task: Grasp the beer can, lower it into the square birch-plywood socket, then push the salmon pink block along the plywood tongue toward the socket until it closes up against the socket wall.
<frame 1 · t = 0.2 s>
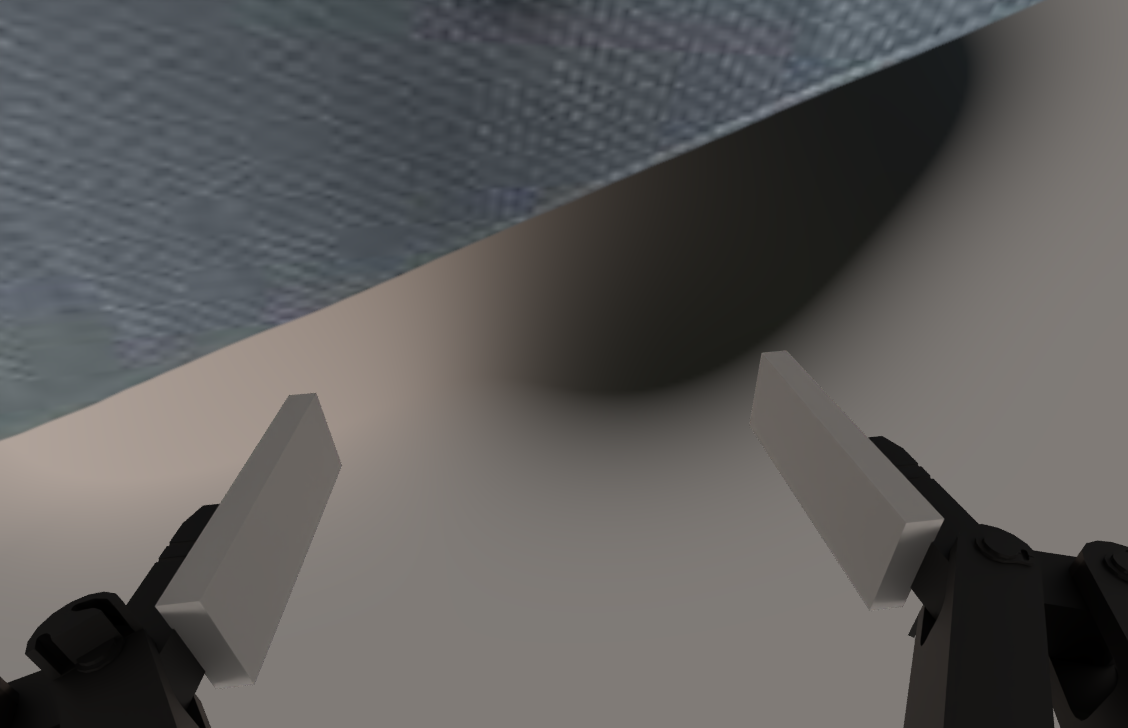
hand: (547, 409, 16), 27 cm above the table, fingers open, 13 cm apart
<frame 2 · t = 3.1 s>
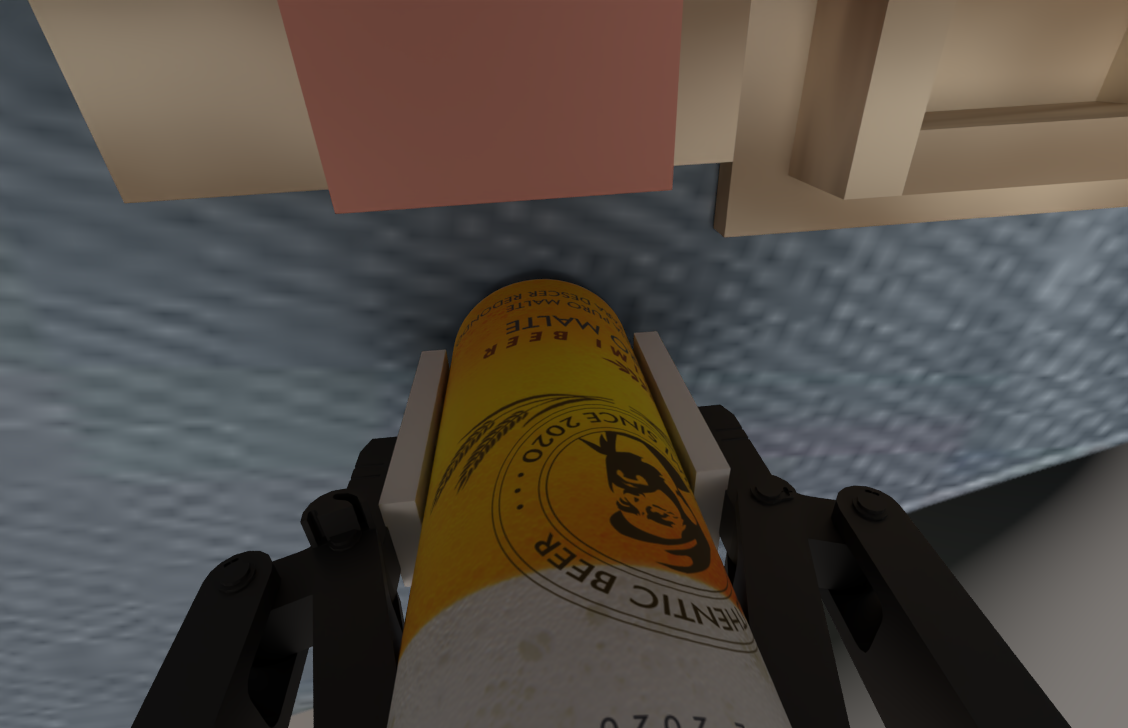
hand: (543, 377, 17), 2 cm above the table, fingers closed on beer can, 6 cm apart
beer can: (540, 346, 19), on the table, touching gripper
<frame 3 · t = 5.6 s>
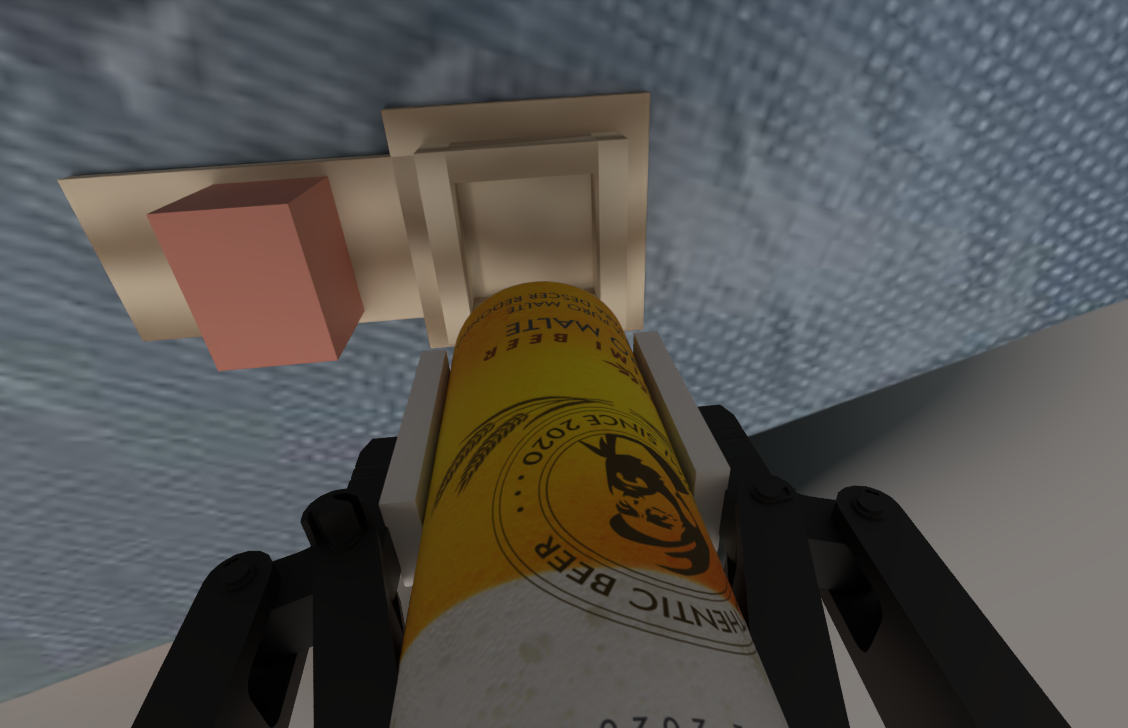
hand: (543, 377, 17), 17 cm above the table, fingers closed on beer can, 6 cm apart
salmon pink block: (274, 271, 27), point 4 cm above the table, slide at 0.0 cm
beer can: (540, 348, 19), point 15 cm above the table, touching gripper
dock: (528, 229, 32), on the table
when the fingers open (5 cm above the table, at t = 7.9 s): beer can drops 2 cm, resting on dock.
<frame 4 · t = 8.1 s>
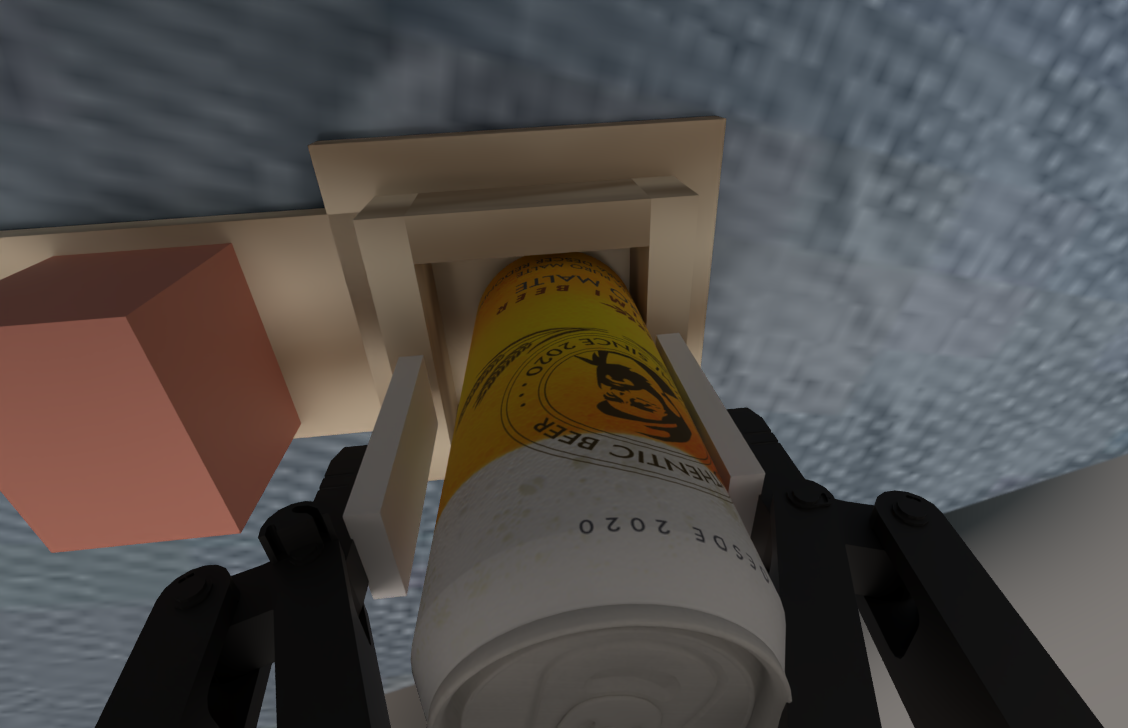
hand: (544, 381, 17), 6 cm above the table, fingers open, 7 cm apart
salmon pink block: (145, 392, 18), point 4 cm above the table, slide at 0.0 cm
beer can: (555, 316, 21), point 1 cm above the table, touching dock, gripper
dock: (535, 309, 22), on the table
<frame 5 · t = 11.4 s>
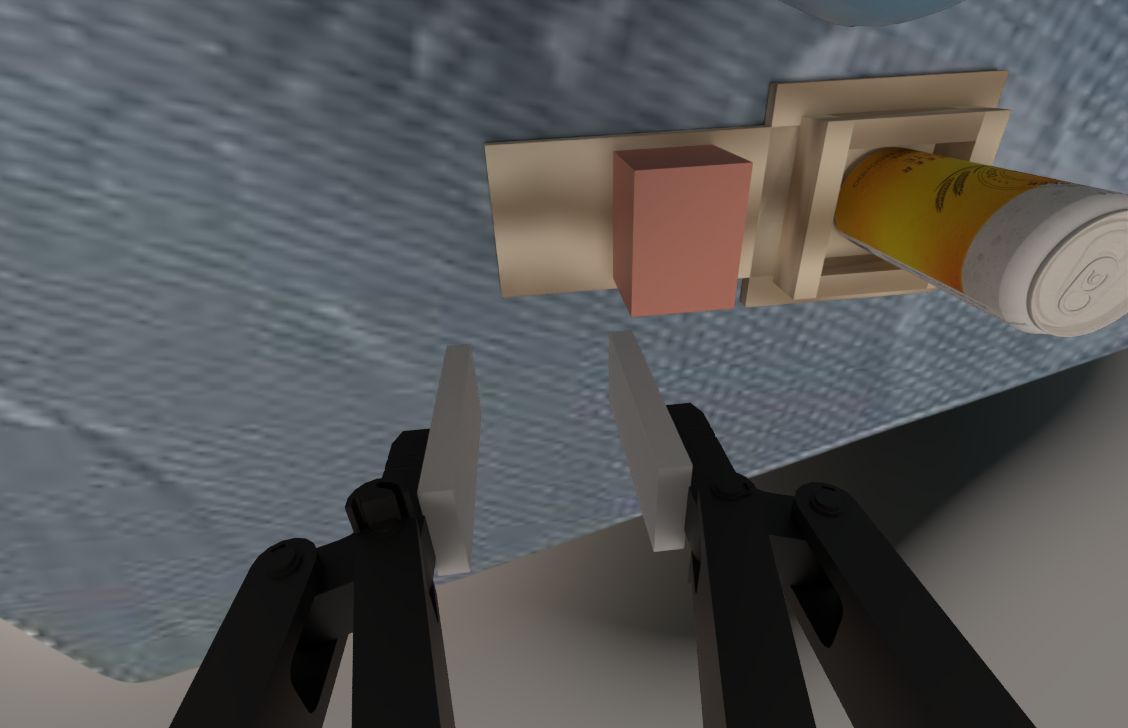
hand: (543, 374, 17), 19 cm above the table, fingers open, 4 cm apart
salmon pink block: (672, 228, 30), point 4 cm above the table, slide at 0.0 cm
beer can: (872, 195, 34), point 1 cm above the table, touching dock
dock: (855, 196, 35), on the table
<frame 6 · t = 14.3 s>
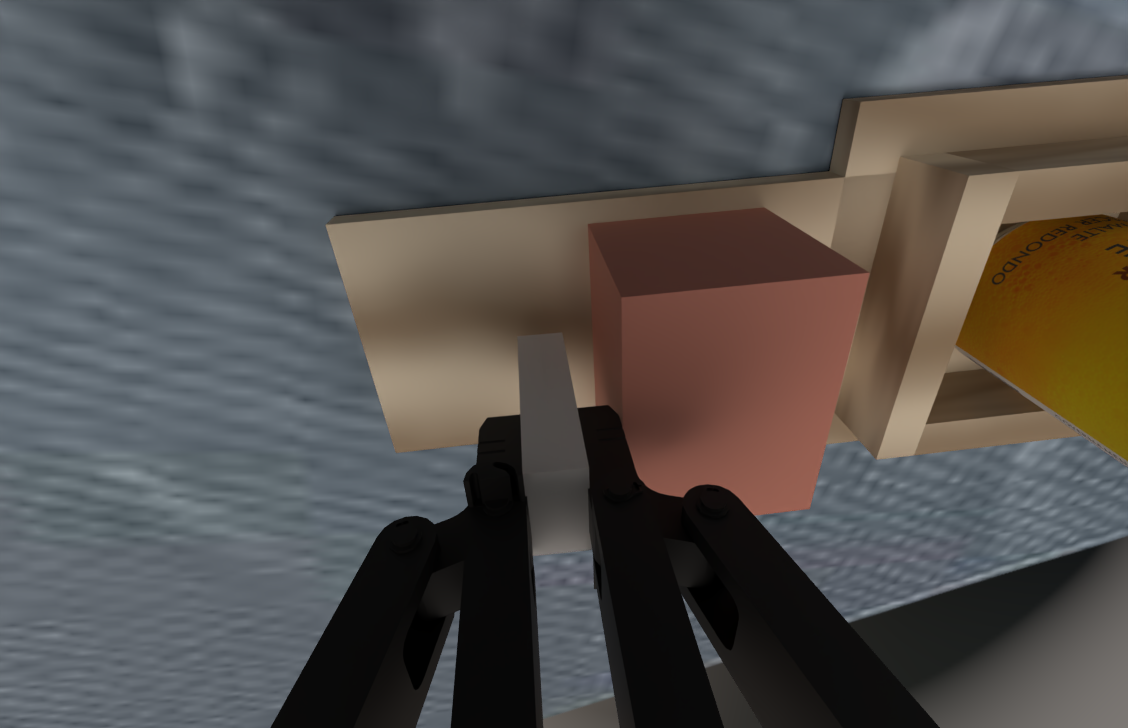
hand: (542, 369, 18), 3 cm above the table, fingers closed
salmon pink block: (696, 363, 17), point 4 cm above the table, slide at 0.9 cm, touching gripper
beer can: (1007, 280, 20), point 1 cm above the table, touching dock
dock: (975, 279, 21), on the table
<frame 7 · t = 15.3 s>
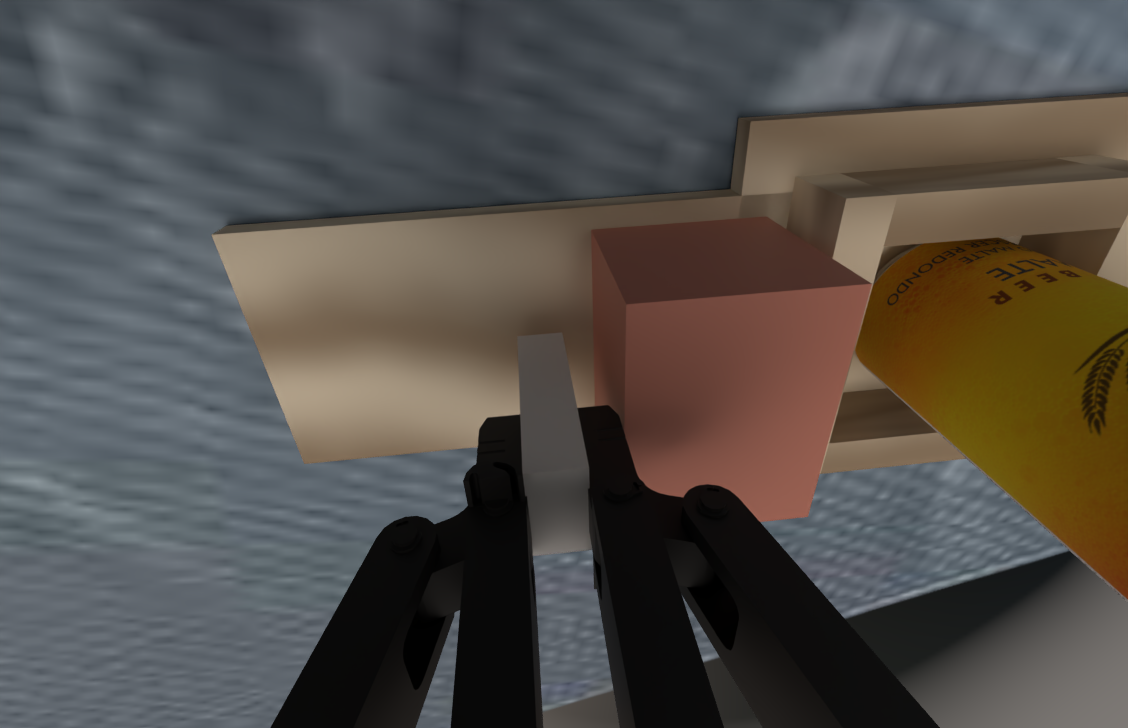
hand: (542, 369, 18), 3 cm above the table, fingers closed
salmon pink block: (697, 370, 17), point 4 cm above the table, slide at 4.5 cm, touching gripper
beer can: (915, 300, 20), point 1 cm above the table, touching dock
dock: (886, 298, 21), on the table
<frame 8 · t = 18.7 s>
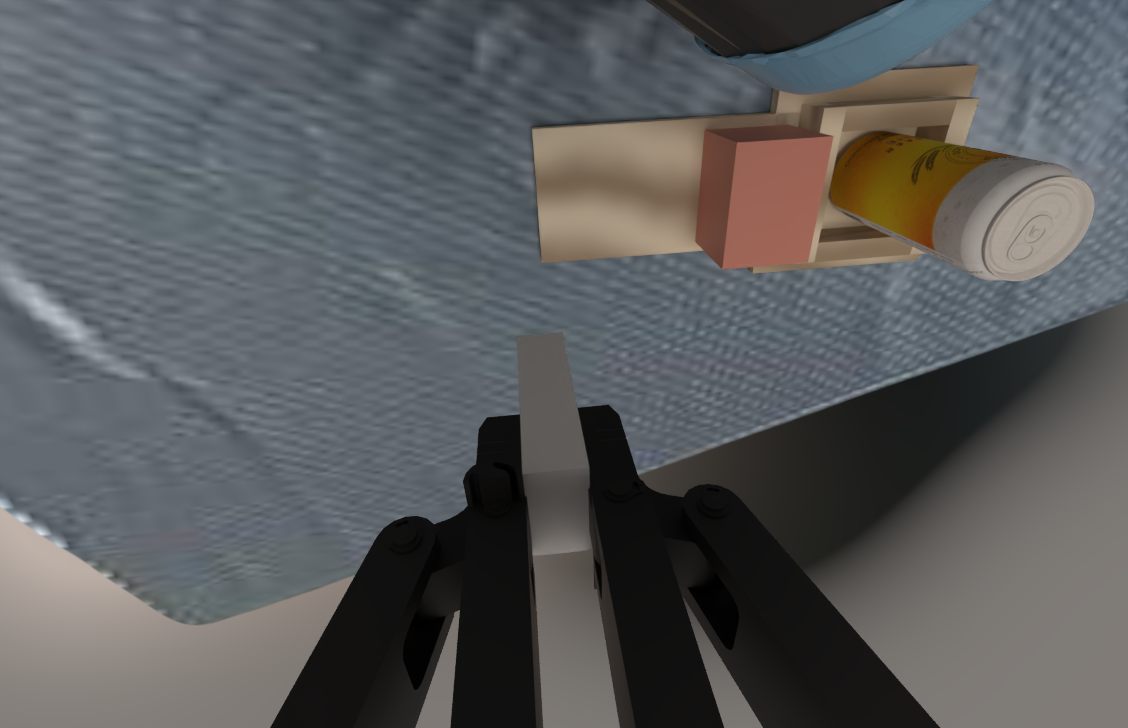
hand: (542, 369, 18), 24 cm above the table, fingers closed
salmon pink block: (755, 195, 36), point 4 cm above the table, slide at 4.5 cm
beer can: (863, 173, 39), point 1 cm above the table, touching dock
dock: (848, 175, 40), on the table
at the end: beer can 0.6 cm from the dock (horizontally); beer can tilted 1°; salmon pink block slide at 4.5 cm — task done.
